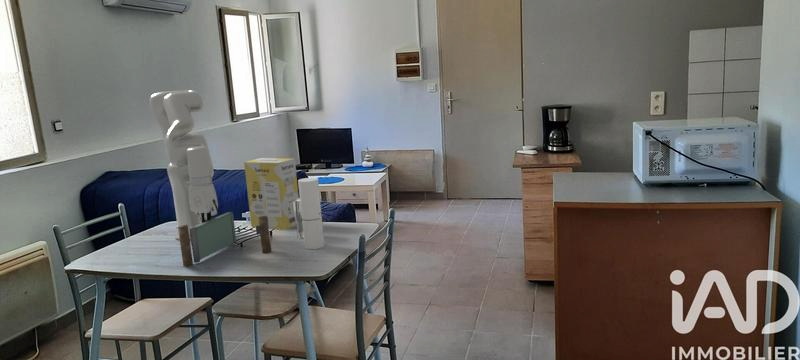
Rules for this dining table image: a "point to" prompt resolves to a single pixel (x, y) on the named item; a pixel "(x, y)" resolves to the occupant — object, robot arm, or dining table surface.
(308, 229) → the cylindrical container
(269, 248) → the post
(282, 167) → the pasta box
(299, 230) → the beer glass
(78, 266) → the dining table surface
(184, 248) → the hinge post
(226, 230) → the gate
